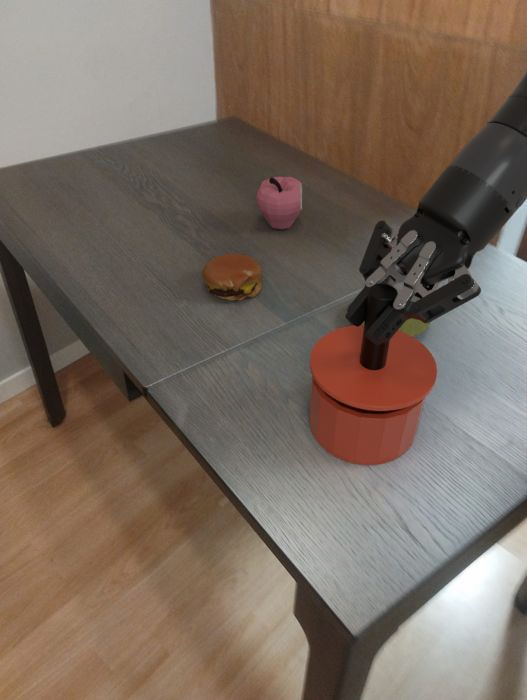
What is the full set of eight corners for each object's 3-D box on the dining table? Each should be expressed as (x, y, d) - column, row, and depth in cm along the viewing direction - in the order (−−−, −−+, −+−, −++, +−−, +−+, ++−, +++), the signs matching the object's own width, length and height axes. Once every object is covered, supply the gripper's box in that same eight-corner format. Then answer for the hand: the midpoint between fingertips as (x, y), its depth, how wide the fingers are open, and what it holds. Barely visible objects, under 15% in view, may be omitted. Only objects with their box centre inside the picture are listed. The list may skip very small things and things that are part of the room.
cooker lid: (425, 334, 62) (442, 258, 56) (445, 419, 52) (468, 337, 46) (310, 330, 64) (314, 254, 57) (307, 411, 53) (311, 330, 47)
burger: (219, 267, 91) (217, 243, 88) (270, 277, 88) (270, 252, 85) (193, 298, 84) (190, 273, 81) (248, 310, 81) (247, 284, 78)
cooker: (408, 389, 68) (419, 343, 63) (422, 468, 58) (435, 421, 53) (310, 384, 69) (313, 339, 64) (308, 461, 59) (311, 415, 54)
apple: (298, 239, 98) (300, 187, 92) (252, 235, 100) (251, 183, 93) (305, 216, 105) (307, 166, 99) (263, 213, 107) (262, 163, 100)
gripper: (414, 142, 52) (302, 283, 55) (530, 194, 42) (387, 359, 46) (444, 184, 57) (341, 310, 61) (555, 238, 48) (424, 384, 51)
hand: (361, 330), depth 53 cm, fingers closed on cooker lid, 3 cm apart
